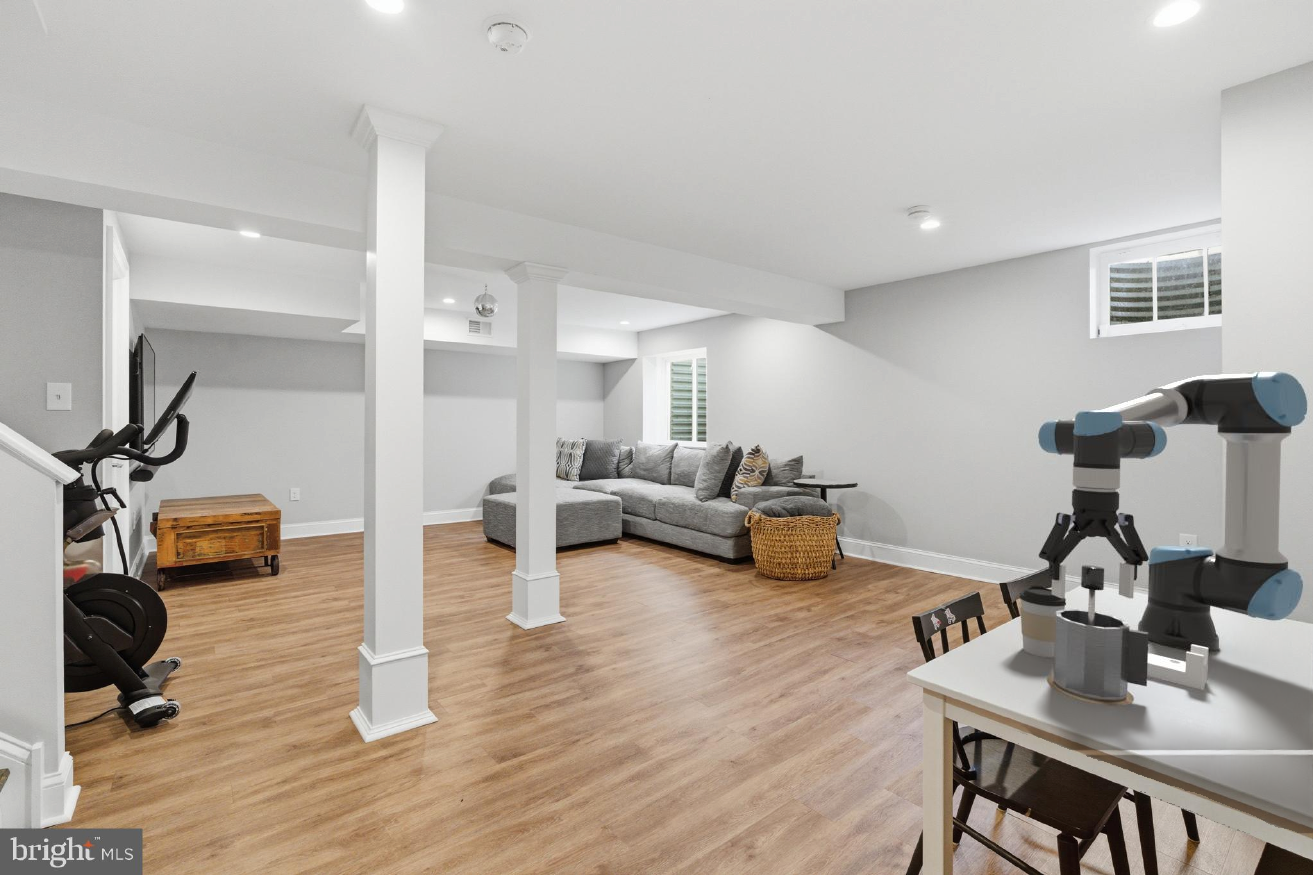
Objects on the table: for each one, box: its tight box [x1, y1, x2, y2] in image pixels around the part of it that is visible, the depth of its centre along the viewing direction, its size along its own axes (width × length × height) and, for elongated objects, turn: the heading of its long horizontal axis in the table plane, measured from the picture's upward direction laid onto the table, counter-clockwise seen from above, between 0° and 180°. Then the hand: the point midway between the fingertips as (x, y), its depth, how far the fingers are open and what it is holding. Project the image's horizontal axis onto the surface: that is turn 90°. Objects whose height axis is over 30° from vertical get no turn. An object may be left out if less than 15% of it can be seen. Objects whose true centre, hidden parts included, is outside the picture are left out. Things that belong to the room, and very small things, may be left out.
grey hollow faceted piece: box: [1053, 608, 1149, 702], centre depth 119 cm, size 13×12×14 cm
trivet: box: [1046, 674, 1135, 706], centre depth 119 cm, size 14×14×1 cm
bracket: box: [1147, 644, 1209, 691], centre depth 127 cm, size 13×7×8 cm, turn 42°
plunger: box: [1080, 564, 1105, 626], centre depth 119 cm, size 8×8×20 cm
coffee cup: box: [1019, 585, 1067, 658], centre depth 138 cm, size 9×9×15 cm
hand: (1092, 596), depth 119 cm, fingers open, 13 cm apart
